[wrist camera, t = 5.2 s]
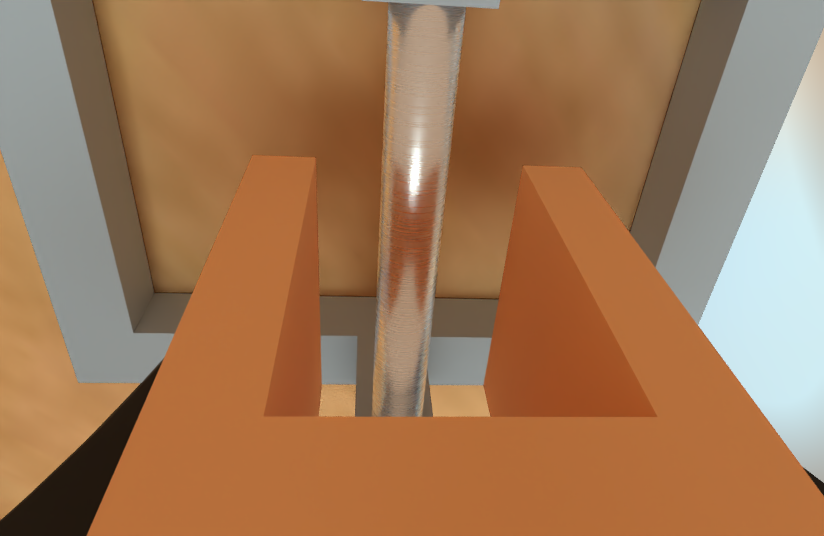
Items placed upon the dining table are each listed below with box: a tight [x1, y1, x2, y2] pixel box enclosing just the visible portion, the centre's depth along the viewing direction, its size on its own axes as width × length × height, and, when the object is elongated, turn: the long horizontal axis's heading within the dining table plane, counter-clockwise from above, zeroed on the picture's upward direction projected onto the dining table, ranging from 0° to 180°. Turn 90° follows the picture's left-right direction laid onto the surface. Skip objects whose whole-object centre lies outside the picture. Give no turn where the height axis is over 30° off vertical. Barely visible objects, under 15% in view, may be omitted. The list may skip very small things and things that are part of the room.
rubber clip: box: [87, 155, 824, 536], centre depth 8 cm, size 5×5×7 cm
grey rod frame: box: [0, 0, 824, 417], centre depth 14 cm, size 14×19×6 cm
